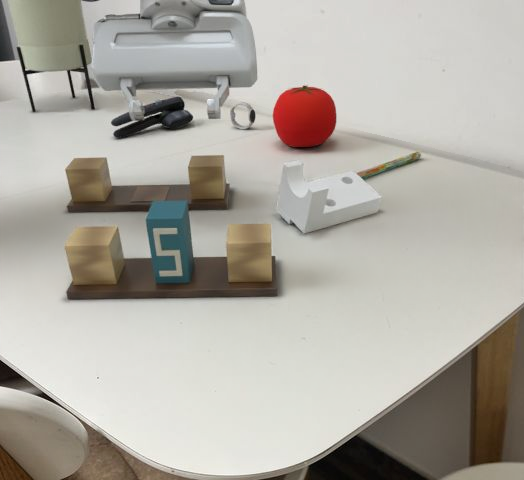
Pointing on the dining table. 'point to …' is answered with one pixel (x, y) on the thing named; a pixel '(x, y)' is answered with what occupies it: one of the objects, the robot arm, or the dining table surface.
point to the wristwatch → (250, 116)
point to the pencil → (389, 165)
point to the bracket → (323, 198)
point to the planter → (51, 39)
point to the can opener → (155, 117)
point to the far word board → (146, 187)
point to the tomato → (304, 116)
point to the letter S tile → (170, 241)
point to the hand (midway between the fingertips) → (175, 117)
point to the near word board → (143, 283)
